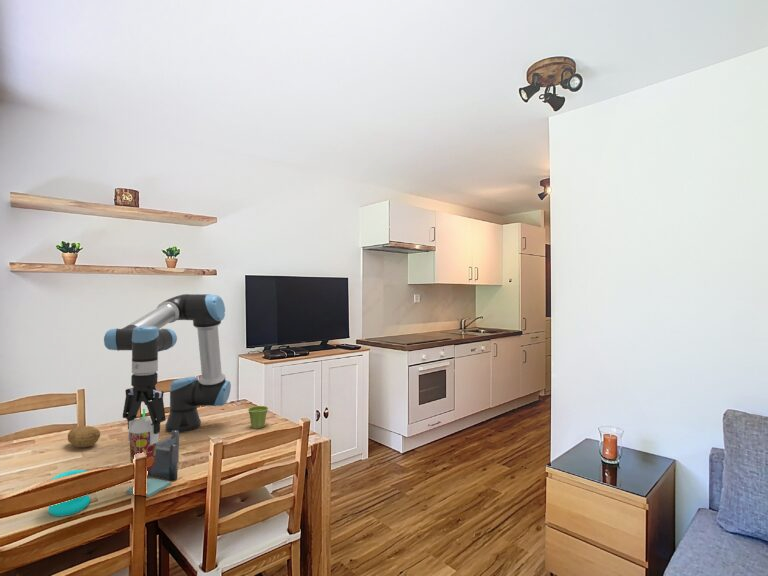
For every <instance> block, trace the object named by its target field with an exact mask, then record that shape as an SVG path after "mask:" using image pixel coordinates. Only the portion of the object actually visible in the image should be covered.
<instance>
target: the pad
mask: <svg viewBox="0 0 768 576" xmlns="http://www.w3.org/2000/svg"><path fill="white" fill-rule="evenodd" d="M146 480H147V493H146V495H147V497H146V498H150V497H152V496H154V495H155V494H157V493H160V492H161V491H163V490H165V489H166V488H168V487H170V486H171V485H172V481H169V480H165V479H160V478H155V477H149V478H147V479H146ZM126 494H130V495H133V486H131V487H129V488H128V489H126Z"/></svg>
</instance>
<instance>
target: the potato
mask: <svg viewBox="0 0 768 576" xmlns="http://www.w3.org/2000/svg"><path fill="white" fill-rule="evenodd" d="M100 437H101V431H100V429H98V428H96V427H94V426H89V425H86V426H85V425H84V426H83V425H79V426H76V427H73V428H71V429H70V430H69V431H68V434H67V441H68V442H69V443H70V444H71V446H73V447H75V448H76V447H77V448H89V447H91V446H93V445H94V444H95V443H97V442H98V441H99V439H100Z"/></svg>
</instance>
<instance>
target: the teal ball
mask: <svg viewBox="0 0 768 576" xmlns="http://www.w3.org/2000/svg"><path fill="white" fill-rule="evenodd" d="M86 471H87V470H85V469H73V470H69V471H64V472H61V473H59V474H58V475H55V476H53V477H52V478H51V480H53V479H56V478H60V477H63V476H68V475H72V474H76V473H81V472H86ZM51 480H50V481H51ZM90 502H91V496H90V495H89V494H88V495H86V496H83V497H79V498H76V499H73V500H70V501H67V502H63V503H60V504H57V505H53V506H49V505H48V509H47V511H48V513H49V514H50V515H51V516H55V517H64V516H65V517H66V516H70V515H74V514H76V513H79V512H80V511H82V510H84V509H85V508H87V507H88V505H90Z"/></svg>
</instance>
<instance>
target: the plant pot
mask: <svg viewBox="0 0 768 576" xmlns="http://www.w3.org/2000/svg"><path fill="white" fill-rule="evenodd" d="M268 410H269V407H268V406H265V405H256V406H251V407H249V408H248V409H247V411H248V414H249V419H250V426H251V428H252V429H253V430H254V429H256V430H257V429H260V428H264V427H265V425H266V418H267V414H268Z"/></svg>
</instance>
